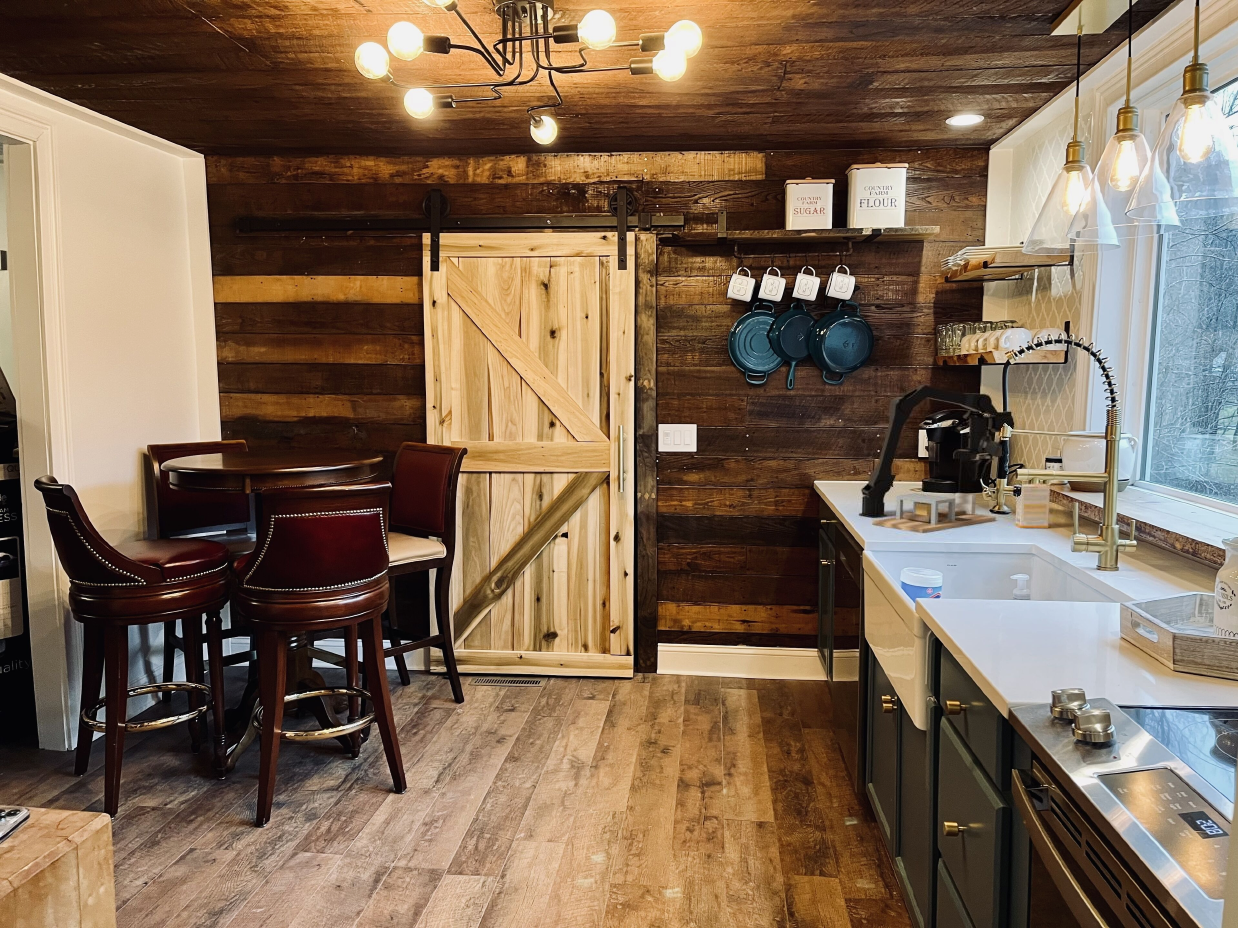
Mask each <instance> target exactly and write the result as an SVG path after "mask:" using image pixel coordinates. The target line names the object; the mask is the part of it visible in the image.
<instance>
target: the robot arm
mask: <svg viewBox="0 0 1238 928" xmlns="http://www.w3.org/2000/svg"><path fill="white" fill-rule="evenodd" d="M925 399H931V400H936V401H940V402H945V403H946V402H947V403H951V404H955V405H959V406H961V407H963V408H965V409H969V410H968V411H967V412H966V413H965V414H964V415H962V417H963V419H969V427H968V428H969V429H968V431H969V432H968V433H969V434H966V435H965V436H966V437H965V438H966V439H968V447H965V449H956V450H954V452H953V456H952V457H953V458H952V459H956V460H961V461H962V462H963V464H964V466H965V467H966V470H967V472H968V474H969V476H970V478H971V480H972V481H976V480H979V481H981V480H982V479H983V476H984V473H985V471H986V468H987V465H989V463H990V462H992V461H994V459H995V458H1002V457H1003V455H1002V440H999V441H994V440H992V435H989V430H990V431H991V432H992V433H1002V432H1001V428H1002V427H1003V424H1004V423H1006V424H1007V425H1008V426H1010V427H1011V428H1012V429H1013V430H1014V429H1015V421H1014V417H1013V415H1012V411H1007V410H1006V411H1005V410H1004V411H998V410H997V409H996V407H995V406H994V404H993V400H992V398H991V396H990V395H989V394H986V393H963V392H958V391H957V392H956V391H953V390H949V389H943V388H939V387H931V386H929V385H926V384H925V385H921V384H920V385H919V386H918V387H917V388H915V389H913V390H911V391H909V392H908V393H905V394H904V395H902V396H898V397H894V398H893V399H892V400H891V401H890V403H889V410H888V411H889V412H888V420H889V424H888V427H887V431H886V434H885V438H884V442H883V446H882V449H881V453H880V455H879V460H878V463H877V465H876V467H875V468H874V469H873V471H872V472H871V475H870V477H869V479H868V482H867V483H866V484H865V485H864V486H863V487H862V488H861V489H860V491H861V494H862V497H861V498H862V499H861V500H862V501H861V503H862V504H861V512H860V513H858V515H859V516H863V517H869V518H880V517H886V516H887V513H885V502H884V500H885V496H886V494H887V493H888V492H890V490H891V488H893V487H894V481H895V479H896V476H897V475H896V474H895V473H893V472H892V468H893V463H894V460H895V457H896V453H897V449H898V446H899V442H900V439H901V436H902V431H903V428H904V426H905V424H906V422H908V421H909V418H910V416H911V414H912V412H913V410H914V408H915V407H917V406H918V405H920V404H921V403H922V402H923V401H924V400H925ZM973 411H974V412H975V413H974V412H973ZM976 412H977V413H976ZM978 412H979V413H978ZM984 415H989V416H984ZM1001 456H1002V457H1001ZM993 457H995V458H993Z"/></svg>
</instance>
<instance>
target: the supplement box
mask: <svg viewBox="0 0 1238 928" xmlns="http://www.w3.org/2000/svg"><path fill="white" fill-rule="evenodd" d="M1021 484H1022V493H1021V495H1020V496H1018V497H1017V496H1016V497H1015V498H1016V502H1015V506H1016V507H1015V526H1016V527H1018V528H1020V529H1049V519H1050V496H1051V495H1050V494H1051V493H1050V491H1051V489H1050V488H1051V486H1050V485H1047V484H1046V483H1021Z"/></svg>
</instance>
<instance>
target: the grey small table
mask: <svg viewBox="0 0 1238 928" xmlns="http://www.w3.org/2000/svg"><path fill="white" fill-rule="evenodd" d="M904 501H909V502H913V504H912V505H913V507H912V508H913V509H912V510H913V511H912V513H913V514H916V503H930V504H932V505H931V524H932V525H938V511H939V505H942V504H948V509H947V510H948V522H955V497H947V496H942V495H941V496H940V495H933V494H924V493H910V494H900V495H896V506H895V509H896V510H895V517H896V519H903V516H904V512H903V511H904Z"/></svg>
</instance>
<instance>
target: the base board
mask: <svg viewBox="0 0 1238 928" xmlns="http://www.w3.org/2000/svg"><path fill="white" fill-rule="evenodd" d="M938 512H939V513H944V512H948V509H943V510H938ZM996 520H997V519H996V516H991V515H983V514H978V513H975V514H967V513H965V514H958V515H955V522H948V516H947V519H945V520H939V521H938V525H932V524H931V522H925V521H918V520H912V519H906V518H904V515H903V519H896V516H895V517H889V518H881V519H875V520H872V521H871V525H873V526H879V527H885V528H890V529H895V530H903V531H908V532H914V533H918V534H919V533H920V534H924V533H930V532H935V531H942V530H947V529H948V530H949V529H954V528H960V527H961V528H962V527H965V526H972V525H977V524H985V523H990V522H996Z"/></svg>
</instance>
